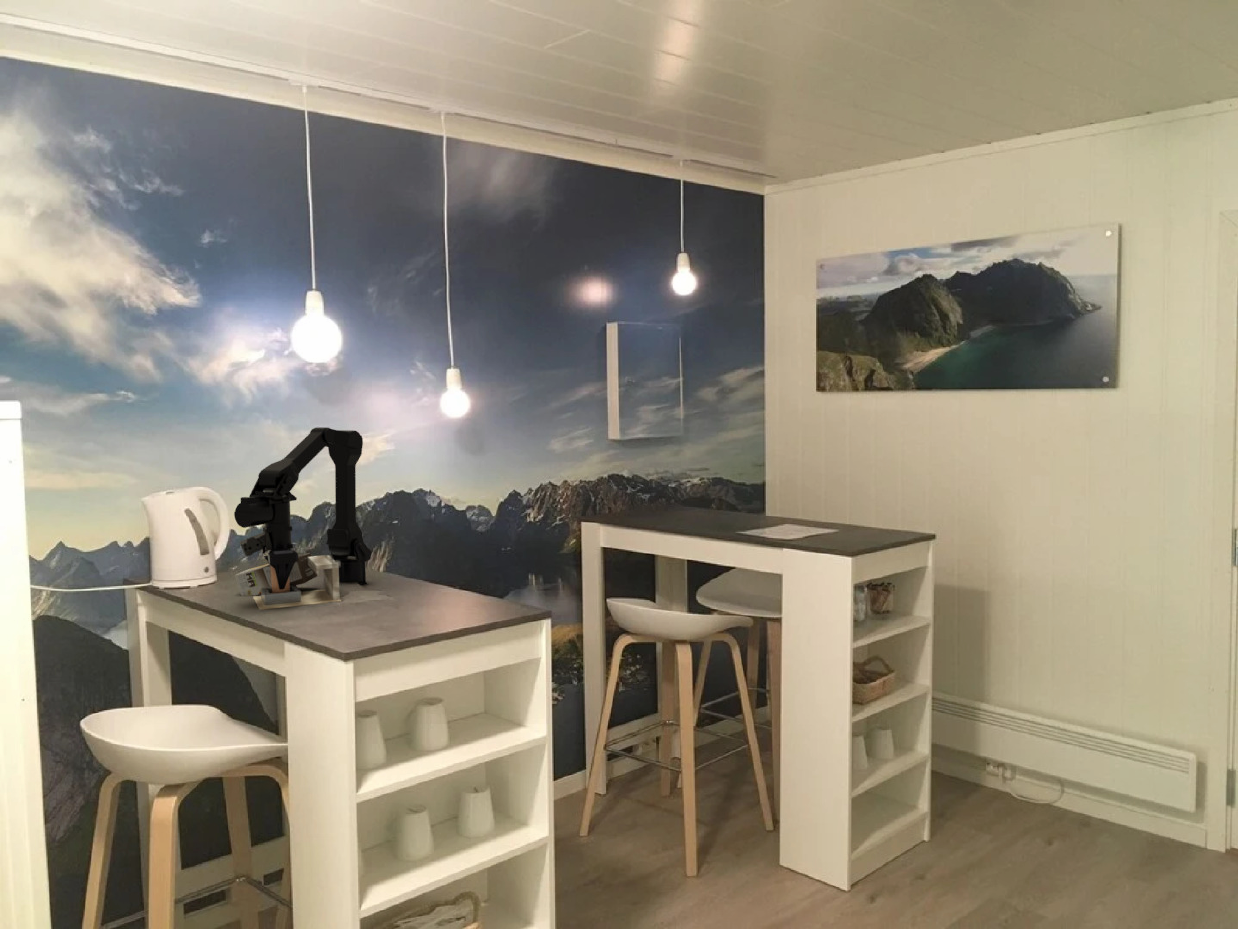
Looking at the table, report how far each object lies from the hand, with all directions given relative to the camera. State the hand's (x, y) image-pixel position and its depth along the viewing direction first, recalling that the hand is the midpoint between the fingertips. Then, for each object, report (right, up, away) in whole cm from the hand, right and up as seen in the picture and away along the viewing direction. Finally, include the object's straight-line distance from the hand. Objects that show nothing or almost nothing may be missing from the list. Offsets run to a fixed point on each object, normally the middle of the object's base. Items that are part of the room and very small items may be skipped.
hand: (280, 587), depth 229 cm
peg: (0, -2, 0) cm, 2 cm away
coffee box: (-12, 0, +11) cm, 16 cm away
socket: (0, -3, 0) cm, 3 cm away
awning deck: (+3, -4, +2) cm, 5 cm away
